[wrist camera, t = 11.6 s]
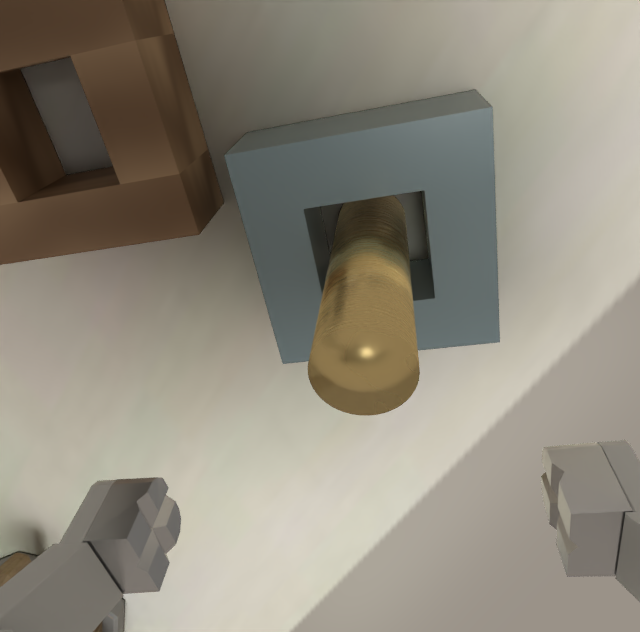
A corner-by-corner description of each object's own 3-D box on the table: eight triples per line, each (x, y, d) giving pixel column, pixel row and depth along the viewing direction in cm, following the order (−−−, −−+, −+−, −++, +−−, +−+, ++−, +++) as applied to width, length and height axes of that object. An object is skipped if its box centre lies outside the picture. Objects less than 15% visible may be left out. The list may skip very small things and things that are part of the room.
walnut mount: (-62, 15, 23) (-142, 19, 19) (152, -41, 21) (106, -48, 17) (43, 232, 28) (-6, 265, 24) (223, 202, 26) (199, 234, 22)
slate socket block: (246, 132, 24) (224, 155, 20) (475, 89, 22) (492, 107, 19) (294, 320, 29) (283, 363, 25) (485, 298, 27) (499, 342, 24)
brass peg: (332, 194, 25) (297, 332, 15) (401, 183, 24) (413, 319, 14) (344, 256, 27) (319, 419, 16) (408, 247, 26) (424, 411, 16)
